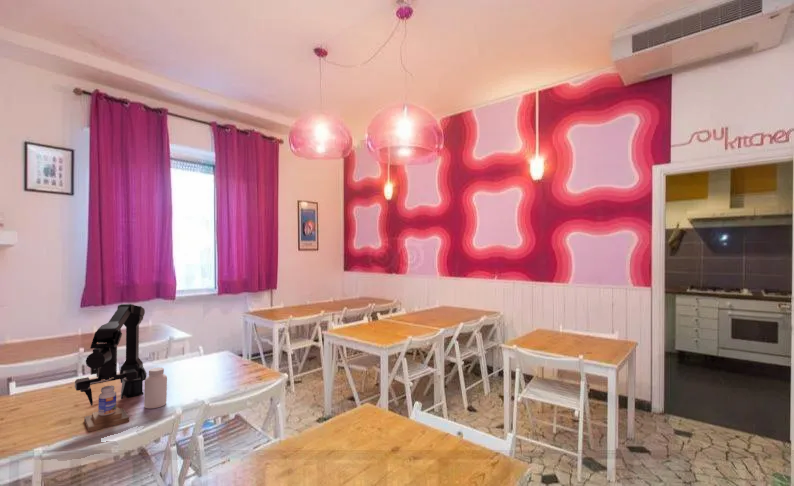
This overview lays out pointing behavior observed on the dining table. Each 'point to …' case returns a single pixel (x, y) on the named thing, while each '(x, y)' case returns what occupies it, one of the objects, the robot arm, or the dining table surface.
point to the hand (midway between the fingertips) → (106, 401)
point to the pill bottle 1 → (107, 401)
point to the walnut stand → (105, 419)
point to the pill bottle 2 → (155, 388)
